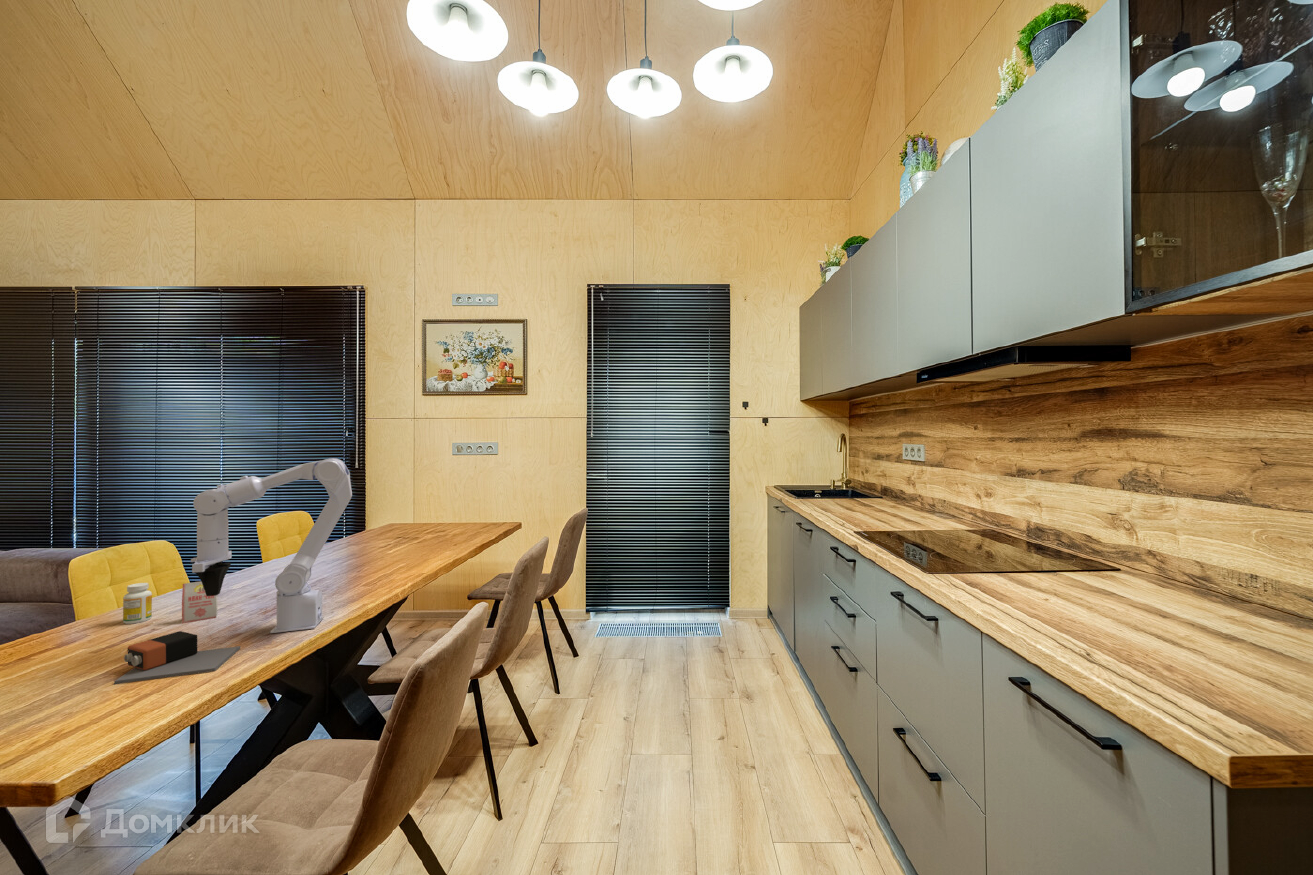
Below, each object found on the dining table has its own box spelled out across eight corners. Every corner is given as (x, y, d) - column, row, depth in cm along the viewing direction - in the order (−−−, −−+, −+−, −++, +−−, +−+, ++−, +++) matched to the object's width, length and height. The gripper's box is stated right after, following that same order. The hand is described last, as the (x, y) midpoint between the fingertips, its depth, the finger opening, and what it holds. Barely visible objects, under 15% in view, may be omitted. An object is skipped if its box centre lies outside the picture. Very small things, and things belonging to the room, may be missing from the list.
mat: (240, 648, 116) (240, 646, 116) (214, 671, 105) (214, 668, 105) (151, 659, 110) (151, 656, 110) (114, 684, 99) (114, 681, 99)
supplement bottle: (130, 625, 131) (130, 588, 131) (118, 623, 133) (118, 586, 133) (156, 618, 136) (156, 582, 136) (144, 616, 138) (144, 581, 138)
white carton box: (183, 619, 135) (183, 582, 135) (217, 614, 139) (217, 578, 139) (181, 623, 132) (181, 585, 132) (216, 617, 136) (215, 580, 136)
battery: (198, 653, 112) (138, 673, 102) (180, 649, 114) (120, 668, 105) (198, 634, 112) (138, 651, 102) (180, 630, 114) (120, 647, 105)
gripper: (207, 534, 128) (207, 588, 128) (175, 546, 114) (175, 606, 114) (241, 532, 130) (241, 585, 130) (213, 543, 116) (214, 602, 116)
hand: (213, 595), depth 122 cm, fingers closed
